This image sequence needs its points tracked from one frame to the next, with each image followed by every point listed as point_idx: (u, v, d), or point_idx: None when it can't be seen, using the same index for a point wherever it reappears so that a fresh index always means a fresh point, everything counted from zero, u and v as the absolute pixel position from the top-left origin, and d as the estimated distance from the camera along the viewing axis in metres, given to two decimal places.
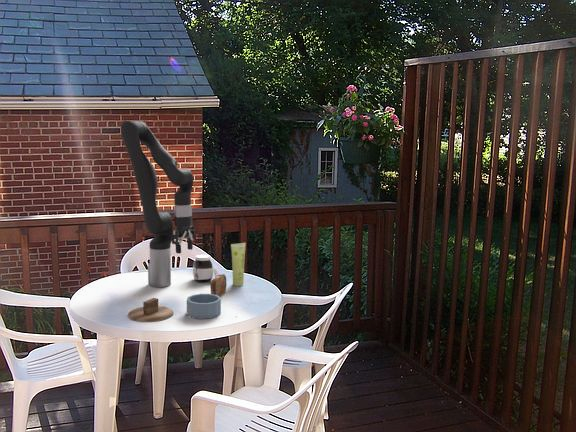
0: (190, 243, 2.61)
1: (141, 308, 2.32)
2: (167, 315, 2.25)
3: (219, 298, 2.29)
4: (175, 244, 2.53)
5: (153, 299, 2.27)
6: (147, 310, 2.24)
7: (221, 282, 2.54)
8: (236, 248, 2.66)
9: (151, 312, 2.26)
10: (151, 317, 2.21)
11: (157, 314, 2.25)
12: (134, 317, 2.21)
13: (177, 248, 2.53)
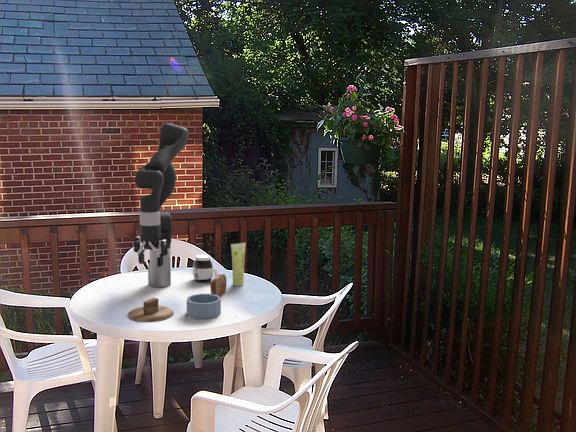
0: (143, 256, 2.26)
1: (141, 308, 2.32)
2: (167, 315, 2.25)
3: (219, 298, 2.29)
4: (162, 256, 2.21)
5: (153, 299, 2.27)
6: (148, 310, 2.24)
7: (221, 282, 2.54)
8: (236, 248, 2.66)
9: (151, 312, 2.26)
10: (151, 317, 2.21)
11: (157, 314, 2.25)
12: (134, 317, 2.21)
13: (162, 260, 2.22)
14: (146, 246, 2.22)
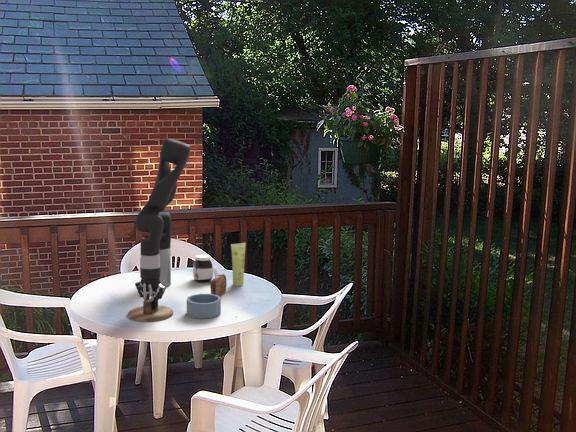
0: None
1: (141, 307, 2.32)
2: (167, 314, 2.25)
3: (219, 298, 2.29)
4: None
5: None
6: (147, 309, 2.24)
7: (221, 282, 2.54)
8: (236, 248, 2.66)
9: (151, 312, 2.26)
10: (151, 317, 2.22)
11: (156, 314, 2.25)
12: (134, 316, 2.21)
13: (156, 304, 2.26)
14: (148, 287, 2.25)
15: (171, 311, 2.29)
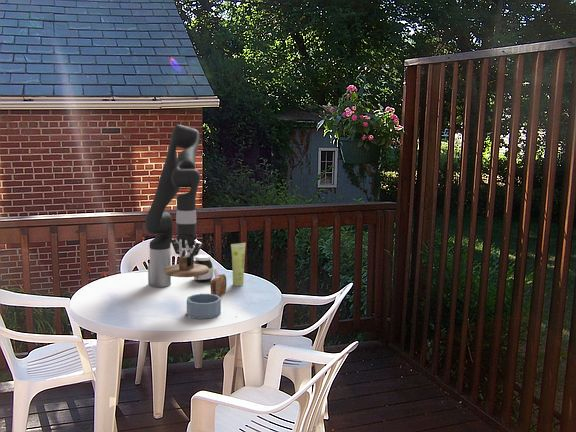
0: None
1: (176, 265, 2.30)
2: (203, 271, 2.23)
3: (219, 298, 2.29)
4: (192, 256, 2.23)
5: None
6: (183, 265, 2.22)
7: (221, 282, 2.54)
8: (236, 248, 2.66)
9: (187, 268, 2.24)
10: (187, 272, 2.20)
11: (192, 270, 2.24)
12: (170, 272, 2.20)
13: (192, 260, 2.24)
14: (184, 244, 2.23)
15: (207, 268, 2.27)
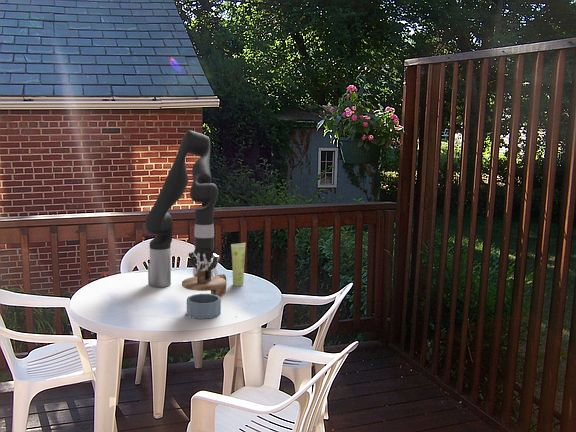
0: None
1: (193, 278, 2.33)
2: (221, 284, 2.25)
3: (219, 298, 2.29)
4: (210, 270, 2.25)
5: None
6: (202, 279, 2.24)
7: None
8: (236, 248, 2.66)
9: (205, 281, 2.26)
10: (206, 286, 2.22)
11: (210, 283, 2.26)
12: (189, 285, 2.22)
13: (210, 274, 2.26)
14: (202, 257, 2.25)
15: (224, 281, 2.29)
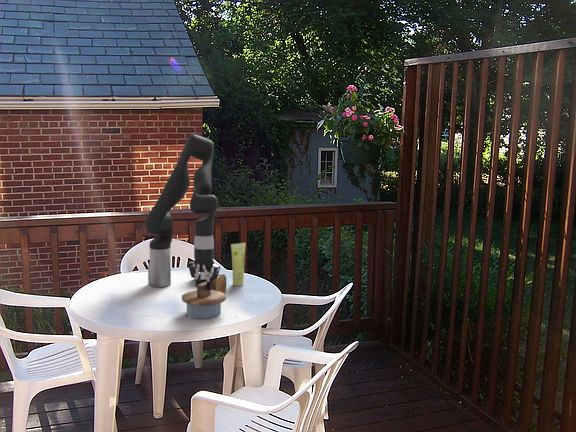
0: (200, 281, 2.29)
1: (193, 292, 2.33)
2: (220, 298, 2.26)
3: None
4: (211, 281, 2.25)
5: (206, 282, 2.29)
6: (201, 293, 2.25)
7: (221, 282, 2.54)
8: (236, 248, 2.66)
9: (205, 296, 2.27)
10: (205, 300, 2.23)
11: (210, 297, 2.27)
12: (188, 300, 2.23)
13: (211, 284, 2.27)
14: (201, 268, 2.26)
15: (224, 295, 2.30)
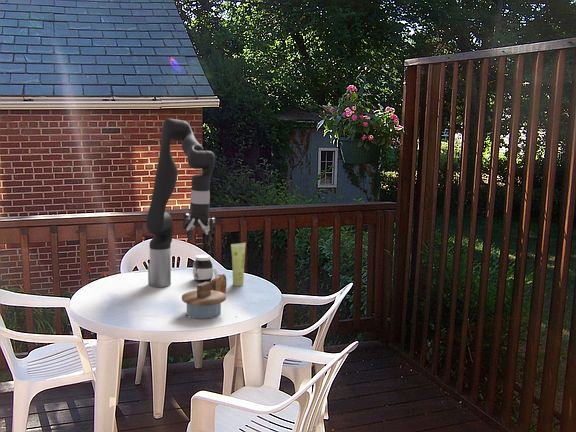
0: (191, 232, 2.36)
1: (193, 292, 2.33)
2: (220, 298, 2.26)
3: None
4: (210, 233, 2.30)
5: (206, 282, 2.29)
6: (201, 293, 2.25)
7: (221, 282, 2.54)
8: (236, 248, 2.66)
9: (205, 296, 2.27)
10: (205, 300, 2.23)
11: (210, 297, 2.27)
12: (188, 300, 2.23)
13: (210, 237, 2.31)
14: (195, 223, 2.32)
15: (224, 295, 2.30)
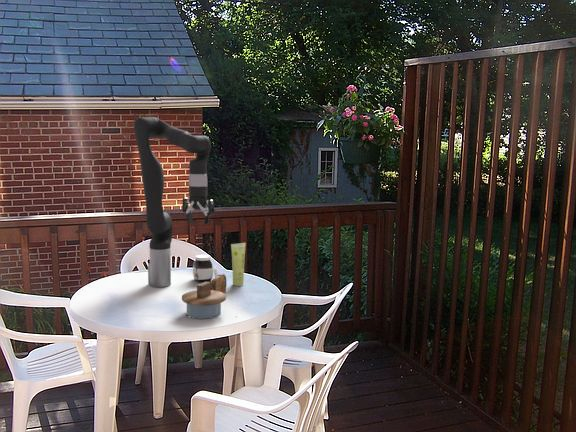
0: (190, 215, 2.45)
1: (193, 292, 2.33)
2: (220, 298, 2.26)
3: None
4: (209, 215, 2.40)
5: (206, 282, 2.29)
6: (201, 293, 2.25)
7: (221, 282, 2.54)
8: (236, 248, 2.66)
9: (205, 296, 2.27)
10: (205, 300, 2.23)
11: (210, 297, 2.27)
12: (188, 300, 2.23)
13: (209, 219, 2.41)
14: (194, 206, 2.42)
15: (224, 295, 2.30)
